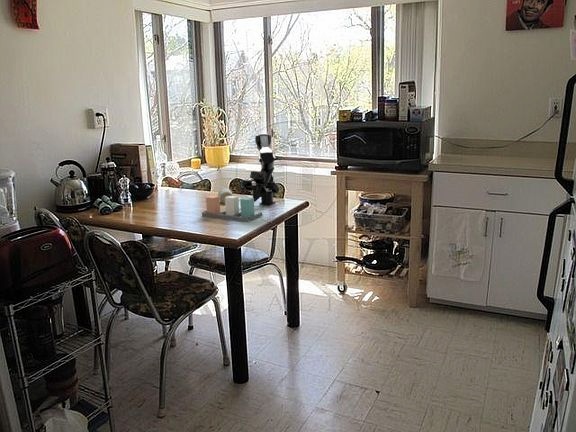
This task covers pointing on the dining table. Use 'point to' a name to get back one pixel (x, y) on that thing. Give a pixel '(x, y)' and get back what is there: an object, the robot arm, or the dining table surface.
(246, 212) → the teal block
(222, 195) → the ceramic mug
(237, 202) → the white rectangular block
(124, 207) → the dining table surface
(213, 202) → the pink upright block
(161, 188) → the dining table surface
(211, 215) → the grey tray
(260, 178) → the robot arm
